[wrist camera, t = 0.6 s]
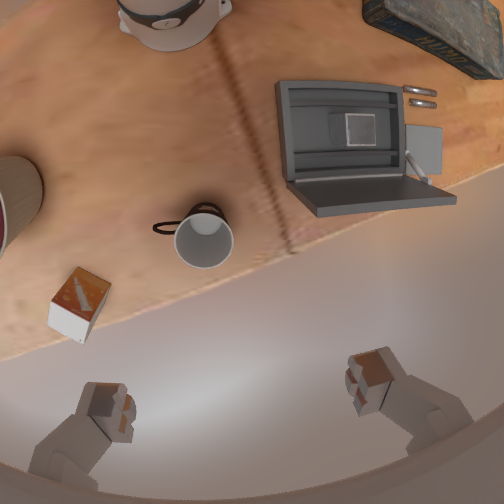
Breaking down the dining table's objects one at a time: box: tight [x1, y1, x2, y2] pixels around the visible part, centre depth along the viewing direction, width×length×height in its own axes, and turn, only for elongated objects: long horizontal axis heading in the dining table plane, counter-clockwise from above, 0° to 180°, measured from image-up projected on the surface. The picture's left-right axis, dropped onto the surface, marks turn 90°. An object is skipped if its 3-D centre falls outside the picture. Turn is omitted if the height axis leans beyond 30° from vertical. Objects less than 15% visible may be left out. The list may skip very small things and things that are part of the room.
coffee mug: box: [153, 202, 234, 269], centre depth 46 cm, size 12×9×10 cm
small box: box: [47, 267, 111, 345], centre depth 48 cm, size 8×6×13 cm
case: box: [275, 81, 457, 218], centre depth 38 cm, size 17×23×18 cm
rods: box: [403, 85, 437, 109], centre depth 44 cm, size 4×8×1 cm, turn 96°
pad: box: [405, 125, 442, 175], centre depth 49 cm, size 10×10×1 cm
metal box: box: [363, 0, 504, 80], centre depth 32 cm, size 21×32×10 cm, turn 82°
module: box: [329, 113, 376, 146], centre depth 42 cm, size 5×5×7 cm
